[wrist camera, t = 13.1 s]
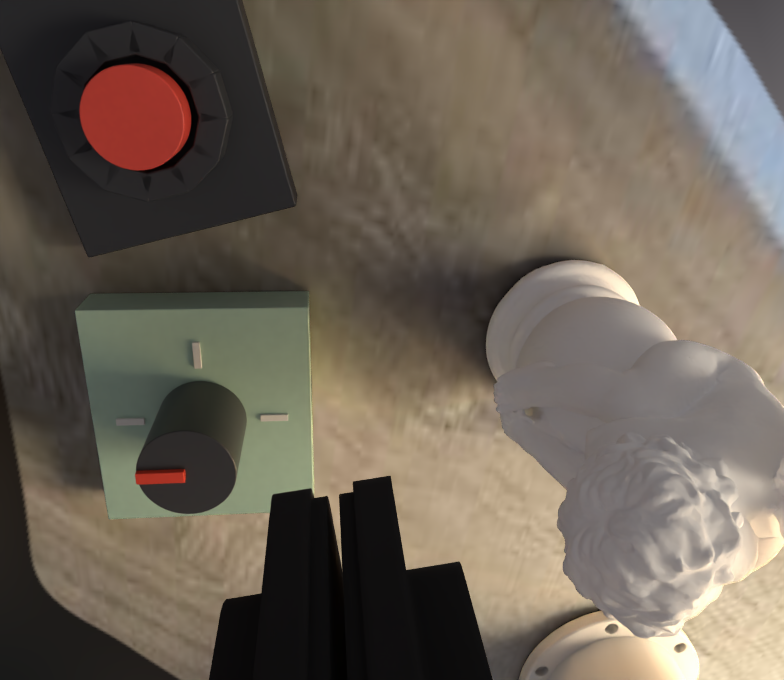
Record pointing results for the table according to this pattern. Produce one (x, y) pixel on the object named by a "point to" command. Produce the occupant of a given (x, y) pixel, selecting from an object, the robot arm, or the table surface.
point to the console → (200, 363)
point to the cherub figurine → (639, 444)
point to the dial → (193, 448)
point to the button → (135, 116)
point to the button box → (202, 89)
